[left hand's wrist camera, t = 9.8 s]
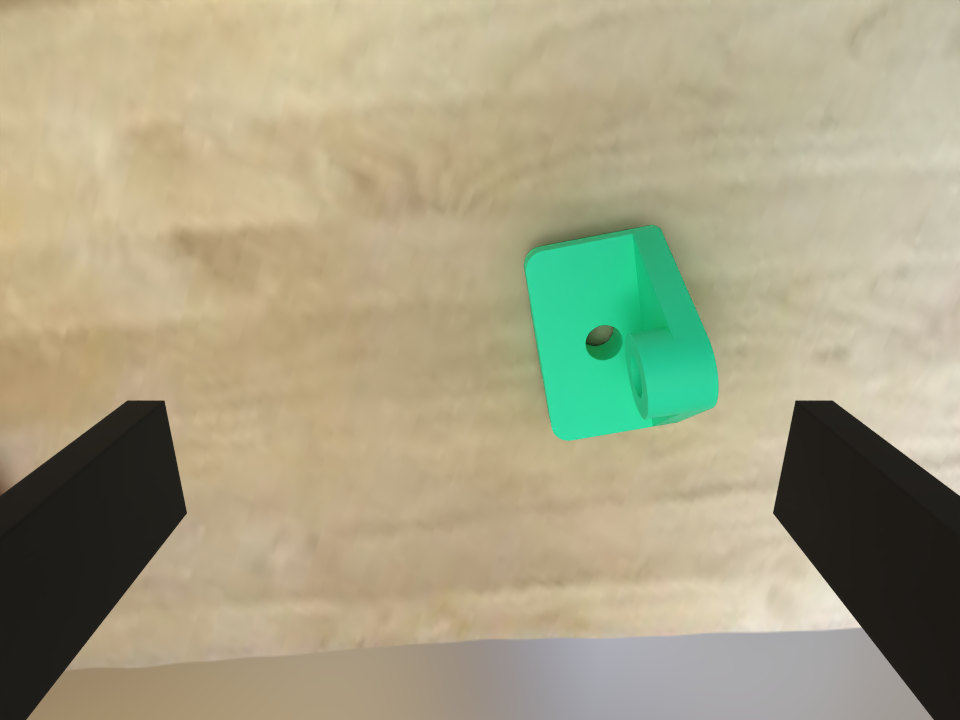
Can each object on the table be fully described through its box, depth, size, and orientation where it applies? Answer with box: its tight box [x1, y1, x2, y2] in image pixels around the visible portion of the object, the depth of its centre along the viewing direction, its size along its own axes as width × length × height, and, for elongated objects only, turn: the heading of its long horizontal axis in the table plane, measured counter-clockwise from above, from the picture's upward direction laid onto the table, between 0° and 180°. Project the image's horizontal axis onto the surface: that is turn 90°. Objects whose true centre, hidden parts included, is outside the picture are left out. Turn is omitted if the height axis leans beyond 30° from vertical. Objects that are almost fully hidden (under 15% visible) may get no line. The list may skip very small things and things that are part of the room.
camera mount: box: [524, 225, 718, 441], centre depth 33 cm, size 12×8×10 cm, turn 11°
